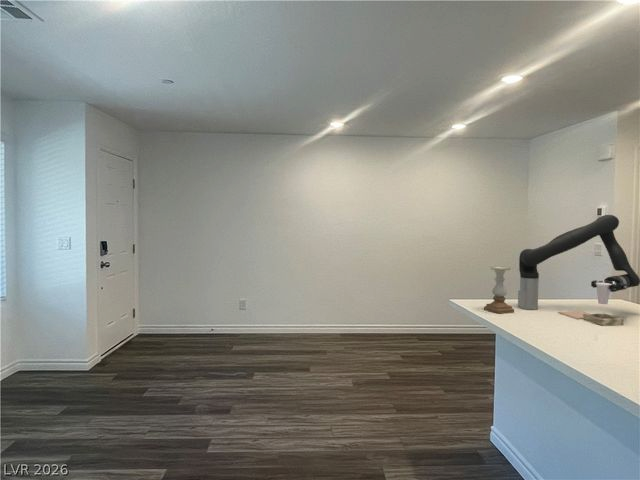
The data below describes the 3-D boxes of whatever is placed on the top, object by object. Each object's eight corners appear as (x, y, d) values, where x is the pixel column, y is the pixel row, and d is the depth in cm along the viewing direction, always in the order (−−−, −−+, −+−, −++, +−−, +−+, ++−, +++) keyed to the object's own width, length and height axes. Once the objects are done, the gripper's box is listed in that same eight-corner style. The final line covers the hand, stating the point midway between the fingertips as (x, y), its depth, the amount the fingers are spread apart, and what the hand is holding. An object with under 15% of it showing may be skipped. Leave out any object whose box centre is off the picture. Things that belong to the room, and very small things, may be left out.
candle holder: (499, 308, 227) (500, 266, 226) (514, 312, 217) (515, 268, 216) (483, 309, 224) (484, 266, 223) (498, 314, 213) (499, 268, 212)
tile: (576, 319, 202) (576, 317, 202) (557, 313, 216) (557, 311, 216) (602, 318, 204) (602, 317, 204) (581, 312, 218) (581, 311, 218)
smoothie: (608, 302, 198) (609, 274, 197) (613, 305, 192) (614, 276, 191) (593, 301, 200) (594, 273, 199) (597, 304, 194) (598, 275, 193)
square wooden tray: (601, 325, 190) (601, 319, 190) (583, 319, 201) (583, 313, 201) (623, 325, 191) (623, 319, 191) (604, 319, 203) (604, 313, 202)
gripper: (599, 274, 210) (585, 276, 200) (632, 277, 198) (620, 280, 188) (598, 288, 210) (584, 291, 200) (632, 293, 198) (619, 296, 189)
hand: (601, 286), depth 194 cm, fingers closed on smoothie, 6 cm apart
